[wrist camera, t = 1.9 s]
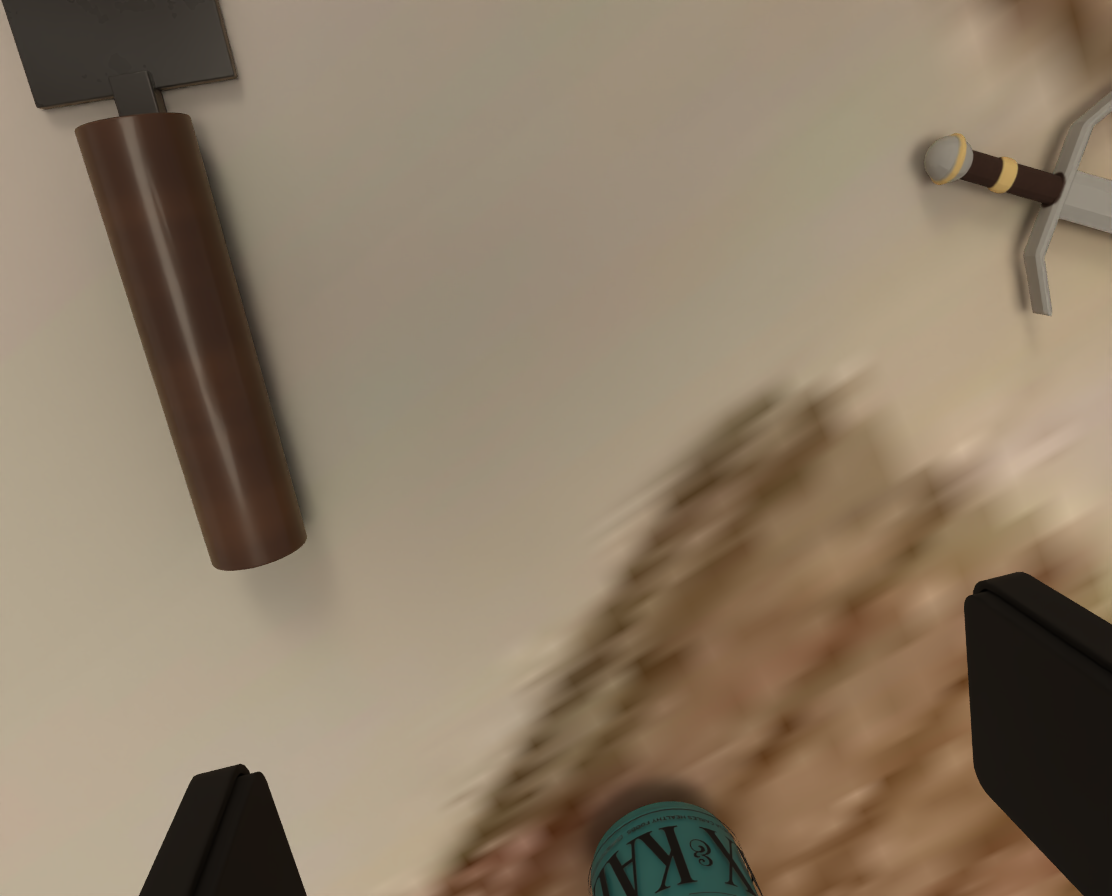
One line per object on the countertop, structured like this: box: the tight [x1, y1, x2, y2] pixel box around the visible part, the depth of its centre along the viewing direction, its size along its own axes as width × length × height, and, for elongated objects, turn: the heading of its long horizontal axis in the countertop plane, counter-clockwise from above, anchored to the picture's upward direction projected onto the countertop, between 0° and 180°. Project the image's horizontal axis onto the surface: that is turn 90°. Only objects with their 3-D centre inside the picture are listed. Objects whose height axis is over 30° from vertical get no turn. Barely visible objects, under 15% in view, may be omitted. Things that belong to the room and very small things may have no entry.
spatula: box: [2, 0, 307, 571], centre depth 26 cm, size 23×6×3 cm, turn 10°
